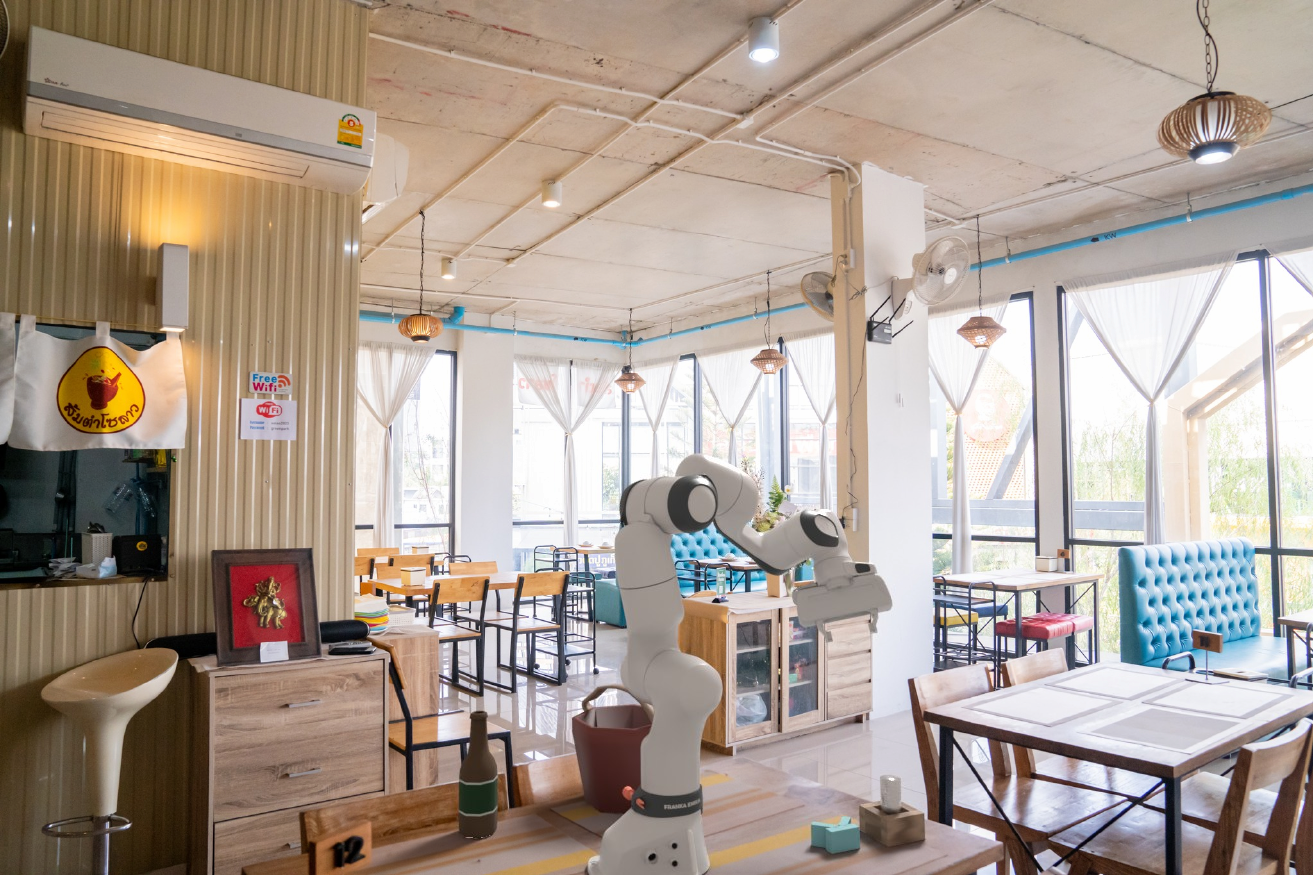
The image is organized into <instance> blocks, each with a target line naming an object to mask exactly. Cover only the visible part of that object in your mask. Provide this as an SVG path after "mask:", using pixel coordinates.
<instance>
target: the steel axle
mask: <svg viewBox="0 0 1313 875" xmlns="http://www.w3.org/2000/svg"><path fill="white" fill-rule="evenodd" d="M901 782H902V780H901V778H900V777H899V776H898V775H892V774H884V775H881V776H880V777H879V788H880V790H879V791H880V792H879V793H880V801H881V811H882V812H884V813H886V814H887V815H893V814H898V813H902V808H901V802H902V783H901Z"/></svg>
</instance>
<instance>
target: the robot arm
mask: <svg viewBox="0 0 1313 875" xmlns="http://www.w3.org/2000/svg"><path fill="white" fill-rule="evenodd" d="M674 474H675V475H674V476H669V475H668V476H657V477H652V478H648V479H647V478H645V479H644V478H643V479H639V480H637V481H634V482H633V483H630V484H629V485H628V486H626V488H625V489H624V490H623V491H622V493H621V495H620V500H619V516H620V519H619V523H620V526H621V529H620V530H619V531H617V533H616V534H615V537H614V561H615V570H616V578H617V584H618V589H619V592H620V597H621V602H622V608H623V612H624V617H625V621H626V632H627V633H626V634H627V642H626V643H627V644H626V646H627V647H626V655H625V656H624V657H623V660H622V661H621V662H622V663H621V665H620V678H621V680H620V681H621V683H622V685H624V686H625V688H626V689H627V690H628V691H629V692H630V693H631V694H632V695H633V696H634V697H636V698H637V699H638V700H640V701H642V702H644V703H647V704H649V705H652V706H653V708H654V718H653V723H652V727H651V730H650V733H649V734H648V735H647V736H646V737H645V738H644V739H643V741H642V743H641V784H640V785H639V787H638V789H637V790H636V791H634V790H633V789H632V788H631V787H629V786H627V787H625V788H624V790H623V792H622V793H623V796H624V797H625V798H626V799H627V800H631V806H632V807H631V808H630V809H629V810H628V811H627V812H626V813H625V814H622V816H620V817H619V818H618V819H617V820H616V821H615V822H614V823H613V824H611V826H610V827H608V828H607V829H606V830H605V831H604V832H603V834H602V837H601V842H600V849H599V854H598V855H594V856H592V857H590V858H589V860H587V861H588V862H587V873H588V875H704V874H705V873H706V872H707V871H708V870H709V869H710V866H711V861H710V857H709V855H708V851H707V846H706V841H705V837H704V830H703V829H704V828H703V819H702V816H703V811H704V796H703V795H704V794H703V793H704V792H703V785H702V783H701V744H702V743H701V742H702V738H703V737H702V736H703V732H704V728H705V726H706V722H707V720H708V718H709V716H710V715H711V714H713V712H714V711H715V710H716V709H717V708H718V706H719V704H720V703H721V700H722V697H723V690H724V689H723V681H722V678H721V675H720V673H719V672H718V671H717V670H716V669H715V668H714V667H713V666H711V665H710V663H708V662H707V661H705V660H703V659H702V658H700V657H698V656H696V655H692V654H690V653H689V654H688V653H684V652H683V651H682V650H681V649H680V646H679V641H678V638H679V637H678V634H679V625H681V623H682V622H683V620H684V618H685V608H684V603H683V598H682V592H681V588H680V583H679V578H678V575H677V574H678V573H677V570H676V566H675V562H674V559H673V554H672V551H671V550H672V549H671V546H672V539H673V535H681V534H695V533H699V532H701V531H704V530H705V529H707V528H709V527H710V526H711V525H712V523H713V527H714V528H715V529H716V531H717V532H718V533H719V534H720V535H721V536H722V537H723V538H724V539H725V540H726V541H728V542H729V543H730V544H732V545H733V546H734V547H736V548H737V549H739V550H740V551H741V553H744V554H745V555H746V556H748V557H749V558H750V559H751V560H752V561H753V562H755V564H756V565H757V566H758V567H759V569H761V570H762V571H763V572H764V573H767V574H768V575H772V576H778V577H779V576H782V575H783V574H785V573H787V572H788V571H790V570H791V569H792V568H793V567H795V566H797V565H799V564H801V563H802V562H805V561H806V560H808V559H812V561H813V572H814V577H815V580H816V582H811V583H807V584H804V585H798V586H796V588H794V589H793V590H792V592H791V598H792V602H793V604H794V605H795V606H796V613H797V619H798V622H799V625H800V626H801V627H803V628H809V627H815V626H816V627H817V631H819V633H821V634H822V635H823V636H824V640H825V643H831V642H834V641H833V636H832V632H831V631H830V630H829V631H827V630H825V626H824V624H829V623H834V622H835V623H836V622H841V621H844V620H850V619H854V618H858V617H859V618H860V617H865V616H870V617H871V619H872V620H871V621H872V622H870V623H868V629H869V633H870V635H871V634H872V635H873V634H878V627H877V623H878V620H879V613H880V614H881V613H883V612H889V611H891V609H892V607H893V600H892V596H891V593H890V591H889V589H888V585H887V584H886V582H885V580H884V578H883V577H882V576H881V575H879V574H878V571H877V567H876V565H875V564H874V563H872V562H861V561H854V560H853V558H852V557H851V556H850V554H849V543H848V539H847V535H846V533H845V530H844V527H843V525H842V523H841V520H840V519H839V518H838V516H837V514H836V513H835V512H834V511H832V510H830V509H826V508H825V509H824V508H821V509H815V510H810V509H805V510H802V511H800V512H798V513H795V515H793V516H791V517H790V518H787V519H786V520H784V521H783V522H781V523H779V524H778V525H776V526H774V527H772V528H770V529H769V530H766V531H762V532H758V531H757V530H756V529H754V528H753V527H752V526H751V525H749V523H750V521H752V520H753V518H755V517H754V516H755V514H756V512H757V510H758V506H759V503H760V493H759V489H758V485H757V482H756V481H755V480H754V479H753V478H752V476H750V475H749V474H748V473H746V472H745V471H744V470H741V469H740V468H738V467H736V466H734V465H733V464H731V463H728V462H726V461H725V460H723V459H720V458H718V457H715V456H711V455H709V454H704V453H701V452H700V453H699V452H698V453H697V452H696V453H692V454H690V455H687V456H686V457H684V459H683V460H682V461H681V462H680V463H679V464H678V466H677V468H676V471H675V473H674Z"/></svg>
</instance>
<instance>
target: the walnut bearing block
mask: <svg viewBox="0 0 1313 875" xmlns="http://www.w3.org/2000/svg"><path fill="white" fill-rule="evenodd" d="M901 808H902V813H898V814H893V815H887V814H886V813H884V812H882V811H881V800H879V801H878V800H877V801H873V802H868V803H867V802H866V803H862V804H858V813H859V814H858V816H859V817H858V820H859V829H860V832H862V833H864V834H866V835H867V836H869V837H870V838H872V839H874V840H876V841H877V842H879V843H881V844H882V845H884V846H886V848H887V847H894V846H899V845H902V844H903V845H904V844H908V843H915V842H918V841H923V840H925V839H926V826H925V824H926V823H925V812H923V811H921V810H920V809H917V808H915V807H913V806H911V805H909V804H907V803H906V802H903V801H901Z"/></svg>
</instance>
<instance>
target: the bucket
mask: <svg viewBox="0 0 1313 875" xmlns="http://www.w3.org/2000/svg"><path fill="white" fill-rule="evenodd" d="M607 689H608V690H609V689H612V690H613V689H615V690H619V691H621V692H622V691H623V692H624V693H627V694H629V695H630V696H631V697H632V698H633V699H634V700H635V701H636V702H637V703H638V704H633V703H632V704H622V705H621V704H619V705H603V706H593V705H591V703H590V702H591V701H594V700H596V699H598V698H599V697H600V696H602V695H603V694H604V693H605V691H606V692H607ZM581 709H582V710H583V712H580V713H579V714H577V715H574V716H573V717H571V734H572V739H573V743H574V748H575V754H576V759H577V765H578V770H579V774H580V780H581V786H582V790H583V795H584V802H585V803H586V804H588V805H589V806H590V807H591V808H593V810H595V811H597V813H600V814H614V815H615V814H616V815H617V814H618V815H624V814H625V813H626V812H627V811H628V810H629V809H630V808H631V807H632V806H631V800H627V799H626V798H625V797H624V796H623V793H622V792H623V790H624V788H625V787H627V786H629V787H631V788H632V789H633V790H634V791H636V790H637V789H638V787H639V785H640V784H641V743H642V741H643V739H644V738H645V737H646V736H647V735H648V734H649V733H650V730H651V727H652V723H653V718H654V708H653V706H652V705H649V704H647V703H644V702H642V701H640V700H638V699H637V698H636V697H634V696H633V695H632V694H631V693H630V692H629V691H628V690H627V689H626V688H625V686H624V685H623V684H617V683H615V684H608V685H603V686H597V687H596V688H594V690H593V691H592V692H591V693H590V694H588V695H587V696H586V697H585V698H584V699H583V700H582V701H581Z"/></svg>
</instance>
